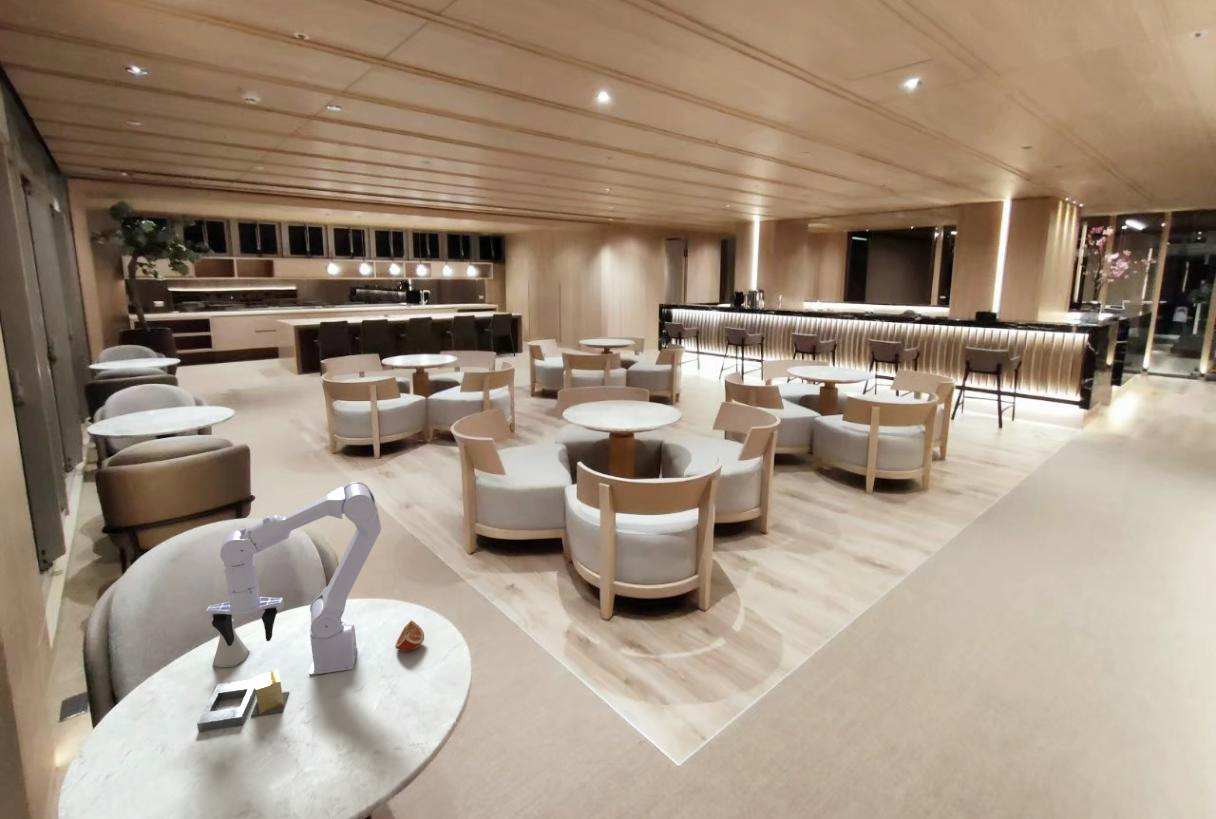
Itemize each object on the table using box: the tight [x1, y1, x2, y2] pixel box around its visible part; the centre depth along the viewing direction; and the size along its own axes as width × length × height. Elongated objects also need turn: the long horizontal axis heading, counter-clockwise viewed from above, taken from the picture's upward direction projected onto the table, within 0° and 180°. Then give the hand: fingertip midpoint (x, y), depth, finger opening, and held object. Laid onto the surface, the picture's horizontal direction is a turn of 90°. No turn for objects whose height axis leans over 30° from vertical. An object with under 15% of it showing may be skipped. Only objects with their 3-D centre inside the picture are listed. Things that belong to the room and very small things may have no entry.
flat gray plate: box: [250, 691, 290, 718], centre depth 131 cm, size 6×6×1 cm
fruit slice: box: [395, 619, 425, 652], centre depth 150 cm, size 8×7×5 cm
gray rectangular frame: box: [196, 678, 256, 733], centre depth 130 cm, size 8×12×2 cm, turn 15°
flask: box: [212, 618, 250, 669], centre depth 144 cm, size 7×7×10 cm
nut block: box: [253, 669, 284, 714], centre depth 130 cm, size 4×4×6 cm
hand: (250, 640), depth 136 cm, fingers open, 7 cm apart
